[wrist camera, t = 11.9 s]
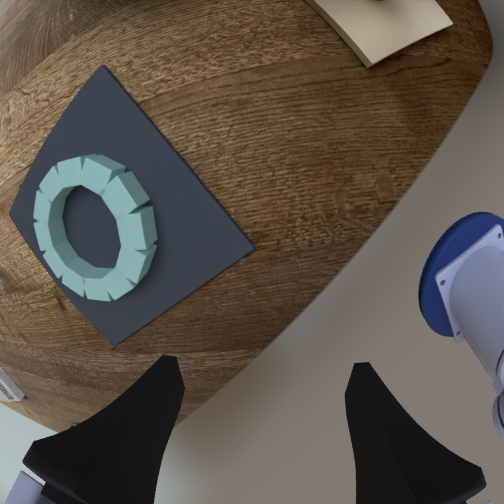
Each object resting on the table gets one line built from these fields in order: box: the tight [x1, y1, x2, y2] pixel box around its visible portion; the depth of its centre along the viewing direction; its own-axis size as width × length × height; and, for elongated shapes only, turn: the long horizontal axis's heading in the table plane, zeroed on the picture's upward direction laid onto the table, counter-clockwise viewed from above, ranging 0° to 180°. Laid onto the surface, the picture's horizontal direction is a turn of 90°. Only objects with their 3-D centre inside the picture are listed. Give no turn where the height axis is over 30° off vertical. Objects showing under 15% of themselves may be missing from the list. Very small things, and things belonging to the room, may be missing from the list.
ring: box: [33, 154, 157, 301], centre depth 19 cm, size 11×11×2 cm
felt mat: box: [9, 65, 255, 346], centre depth 20 cm, size 18×18×1 cm
